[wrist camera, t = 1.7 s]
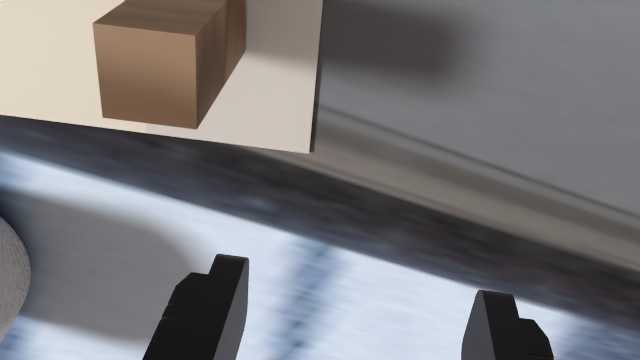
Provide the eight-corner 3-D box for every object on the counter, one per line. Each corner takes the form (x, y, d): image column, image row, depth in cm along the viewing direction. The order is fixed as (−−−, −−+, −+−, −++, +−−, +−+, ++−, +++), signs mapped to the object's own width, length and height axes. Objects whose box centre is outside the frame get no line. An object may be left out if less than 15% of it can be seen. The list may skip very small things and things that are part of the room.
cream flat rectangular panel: (-75, -190, 29) (-78, -190, 29) (336, -146, 28) (336, -146, 28) (-11, 111, 38) (-13, 112, 37) (309, 152, 37) (308, 153, 37)
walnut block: (172, -33, 32) (92, 23, 23) (247, -24, 32) (195, 35, 23) (175, 41, 34) (102, 117, 25) (246, 50, 34) (196, 129, 25)
